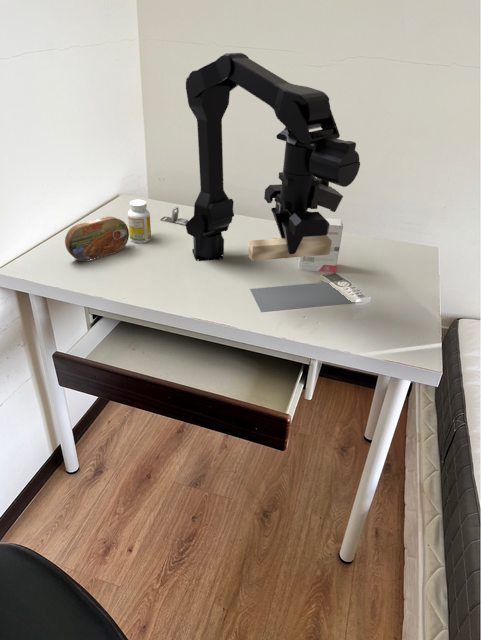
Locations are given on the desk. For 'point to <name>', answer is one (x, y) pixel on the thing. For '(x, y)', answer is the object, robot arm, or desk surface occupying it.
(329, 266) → the ink box
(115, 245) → the tin
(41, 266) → the desk surface
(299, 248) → the beech stick
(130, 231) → the supplement bottle
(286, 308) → the tool mat
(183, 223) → the strap clip
